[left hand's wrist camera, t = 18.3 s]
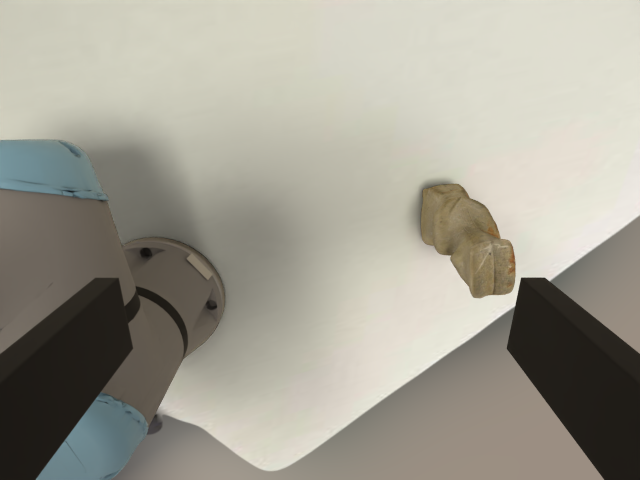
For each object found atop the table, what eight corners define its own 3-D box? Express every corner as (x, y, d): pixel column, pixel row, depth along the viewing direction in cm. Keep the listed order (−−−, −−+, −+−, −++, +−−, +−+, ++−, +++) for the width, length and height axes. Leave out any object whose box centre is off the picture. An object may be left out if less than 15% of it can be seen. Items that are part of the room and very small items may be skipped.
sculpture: (412, 241, 45) (453, 307, 31) (412, 181, 42) (458, 222, 28) (462, 237, 45) (527, 302, 31) (465, 176, 42) (537, 216, 28)
